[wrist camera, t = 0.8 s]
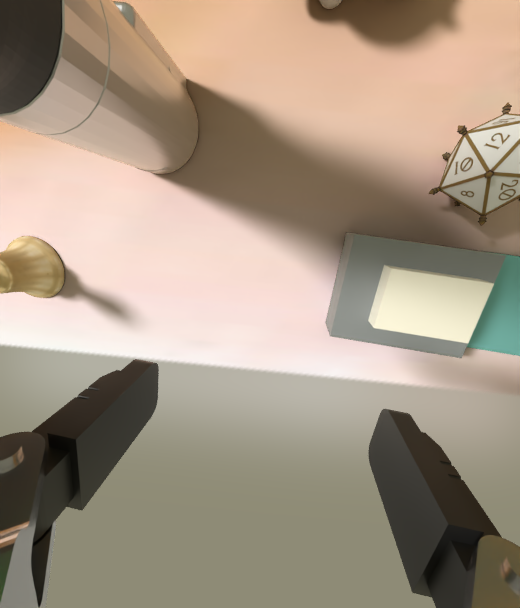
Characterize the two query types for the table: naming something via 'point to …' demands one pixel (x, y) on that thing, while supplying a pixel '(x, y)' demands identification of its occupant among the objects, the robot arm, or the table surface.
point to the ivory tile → (428, 303)
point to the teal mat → (501, 312)
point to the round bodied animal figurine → (330, 3)
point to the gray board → (366, 275)
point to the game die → (485, 165)
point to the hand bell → (31, 268)
